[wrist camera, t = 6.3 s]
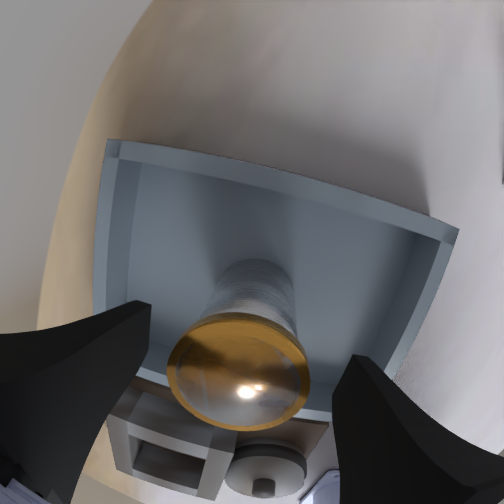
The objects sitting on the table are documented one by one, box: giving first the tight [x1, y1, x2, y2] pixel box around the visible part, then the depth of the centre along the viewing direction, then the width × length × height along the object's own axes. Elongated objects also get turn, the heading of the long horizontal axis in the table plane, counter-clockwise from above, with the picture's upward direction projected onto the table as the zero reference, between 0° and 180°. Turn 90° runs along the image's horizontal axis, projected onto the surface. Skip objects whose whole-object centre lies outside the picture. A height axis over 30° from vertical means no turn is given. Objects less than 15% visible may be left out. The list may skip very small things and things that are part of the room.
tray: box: [93, 139, 459, 422], centre depth 14 cm, size 16×12×3 cm
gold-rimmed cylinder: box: [167, 258, 310, 431], centre depth 12 cm, size 5×5×7 cm
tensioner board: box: [106, 375, 329, 501], centre depth 18 cm, size 16×10×4 cm, turn 77°
